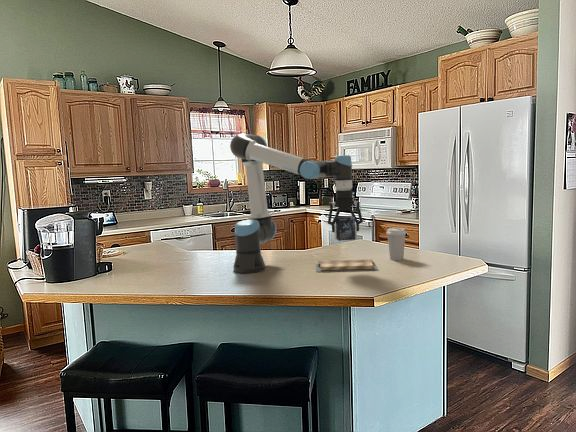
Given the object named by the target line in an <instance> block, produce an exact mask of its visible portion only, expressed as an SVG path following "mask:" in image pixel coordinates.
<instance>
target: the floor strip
mask: <svg viewBox="0 0 576 432" xmlns="http://www.w3.org/2000/svg"><path fill="white" fill-rule="evenodd" d="M365 262H372V264H373V265H374V263H375V262H374V260H373V259H370V258H369V259H343V260H318V261H317V264H318V267H321V266H320V264H332V263H365Z"/></svg>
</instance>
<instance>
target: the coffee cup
mask: <svg viewBox="0 0 576 432" xmlns="http://www.w3.org/2000/svg"><path fill="white" fill-rule="evenodd" d="M385 233H386V235H387V243H388V253H389V254H388V255H389V260H391V261H404V259H405V257H404V255H405V245H406V244H405V242H406V241H405V240H406V234H407V232H406V230H405V228H403V227H402V228H401V227H392V228H388V229H387V231H386V232H385Z"/></svg>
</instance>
